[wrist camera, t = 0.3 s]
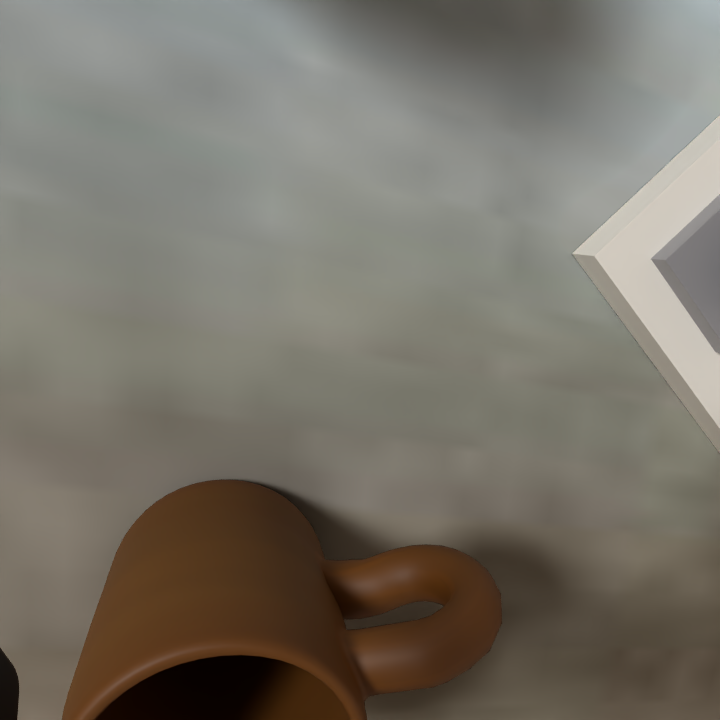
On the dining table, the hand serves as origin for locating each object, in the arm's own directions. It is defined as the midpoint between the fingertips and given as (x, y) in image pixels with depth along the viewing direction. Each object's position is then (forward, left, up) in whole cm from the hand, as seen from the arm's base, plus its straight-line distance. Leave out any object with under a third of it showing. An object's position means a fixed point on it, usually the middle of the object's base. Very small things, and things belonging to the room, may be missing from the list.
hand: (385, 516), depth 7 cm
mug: (-8, -4, -15) cm, 18 cm away
